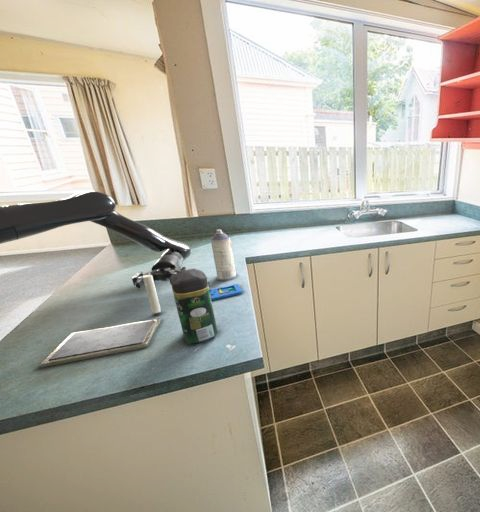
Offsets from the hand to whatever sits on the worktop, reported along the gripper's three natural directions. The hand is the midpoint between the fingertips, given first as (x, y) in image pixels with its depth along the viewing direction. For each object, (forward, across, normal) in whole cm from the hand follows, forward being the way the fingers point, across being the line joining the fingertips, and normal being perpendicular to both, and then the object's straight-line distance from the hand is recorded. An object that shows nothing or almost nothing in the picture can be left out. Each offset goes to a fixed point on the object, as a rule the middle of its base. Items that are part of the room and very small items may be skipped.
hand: (155, 283), depth 93 cm
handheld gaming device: (-4, +16, +9) cm, 19 cm away
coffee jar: (+23, +14, +9) cm, 28 cm away
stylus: (+4, 0, +9) cm, 10 cm away
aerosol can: (-21, +18, +9) cm, 29 cm away
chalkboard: (+17, -8, +9) cm, 20 cm away
